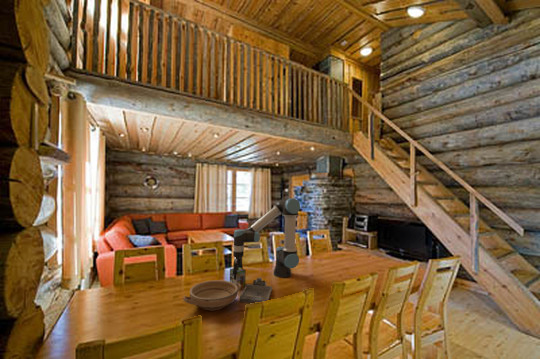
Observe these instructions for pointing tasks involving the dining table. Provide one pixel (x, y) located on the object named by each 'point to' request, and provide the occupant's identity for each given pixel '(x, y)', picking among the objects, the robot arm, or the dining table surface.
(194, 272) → the dining table surface
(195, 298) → the ceramic bowl
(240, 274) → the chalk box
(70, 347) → the dining table surface
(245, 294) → the motor base
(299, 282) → the dining table surface
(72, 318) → the dining table surface
